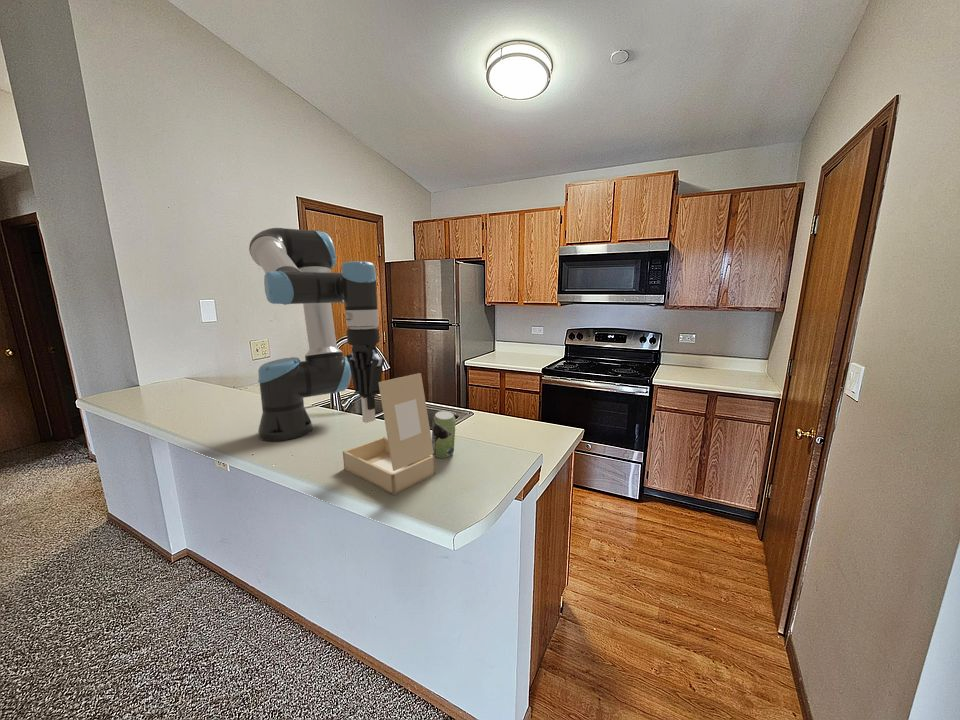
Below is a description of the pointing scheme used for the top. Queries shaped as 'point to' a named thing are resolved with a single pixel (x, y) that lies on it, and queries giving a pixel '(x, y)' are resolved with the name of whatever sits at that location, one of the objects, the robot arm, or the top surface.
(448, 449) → the beverage can
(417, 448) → the lid
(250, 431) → the top surface
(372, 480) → the box
